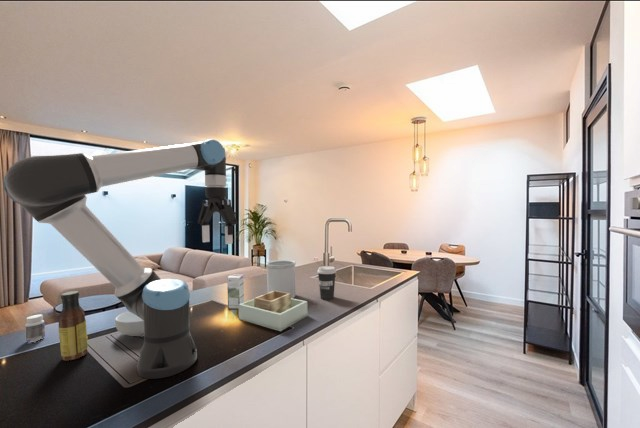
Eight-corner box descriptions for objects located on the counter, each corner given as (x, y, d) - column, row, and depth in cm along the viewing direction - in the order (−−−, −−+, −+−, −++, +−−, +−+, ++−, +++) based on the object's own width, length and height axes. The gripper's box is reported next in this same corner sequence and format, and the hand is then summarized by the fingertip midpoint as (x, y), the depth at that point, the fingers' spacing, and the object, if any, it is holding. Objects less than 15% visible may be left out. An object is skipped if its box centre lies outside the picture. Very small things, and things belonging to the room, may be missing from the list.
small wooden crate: (271, 322, 106) (271, 301, 106) (254, 317, 111) (254, 298, 111) (291, 312, 117) (290, 293, 116) (274, 308, 121) (274, 290, 121)
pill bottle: (47, 339, 98) (46, 315, 98) (28, 344, 94) (27, 320, 94) (42, 336, 100) (41, 312, 100) (23, 341, 96) (22, 317, 96)
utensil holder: (261, 300, 136) (260, 264, 135) (273, 291, 150) (273, 259, 150) (290, 302, 132) (289, 265, 132) (299, 293, 147) (299, 260, 146)
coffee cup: (314, 296, 141) (313, 266, 140) (331, 293, 145) (330, 265, 144) (322, 302, 132) (322, 270, 132) (340, 299, 136) (339, 268, 136)
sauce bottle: (85, 349, 90) (83, 288, 90) (90, 355, 86) (88, 291, 86) (57, 357, 85) (55, 293, 85) (61, 365, 81) (59, 296, 81)
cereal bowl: (180, 325, 108) (179, 307, 108) (142, 345, 92) (141, 324, 92) (145, 321, 113) (144, 303, 112) (103, 339, 97) (102, 319, 96)
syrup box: (244, 305, 130) (244, 274, 129) (239, 309, 124) (239, 277, 123) (232, 304, 130) (232, 273, 130) (227, 309, 124) (226, 277, 124)
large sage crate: (280, 331, 101) (280, 314, 101) (238, 319, 113) (238, 304, 113) (307, 315, 115) (307, 301, 115) (268, 306, 127) (267, 293, 127)
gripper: (246, 185, 103) (247, 243, 103) (204, 189, 116) (205, 240, 117) (229, 184, 96) (231, 245, 97) (187, 188, 110) (188, 242, 110)
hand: (217, 242), depth 107 cm, fingers open, 13 cm apart
